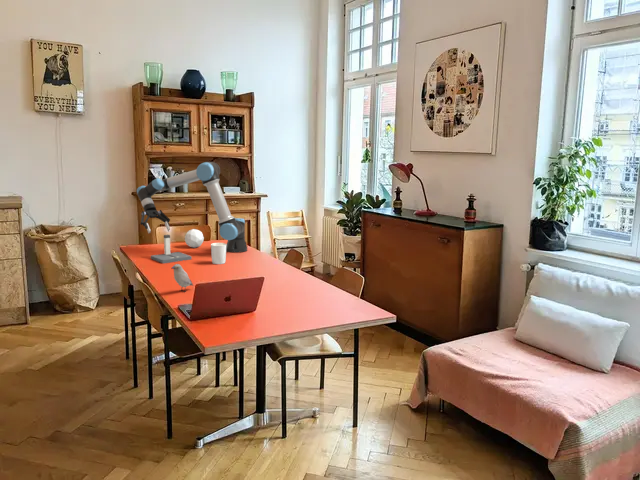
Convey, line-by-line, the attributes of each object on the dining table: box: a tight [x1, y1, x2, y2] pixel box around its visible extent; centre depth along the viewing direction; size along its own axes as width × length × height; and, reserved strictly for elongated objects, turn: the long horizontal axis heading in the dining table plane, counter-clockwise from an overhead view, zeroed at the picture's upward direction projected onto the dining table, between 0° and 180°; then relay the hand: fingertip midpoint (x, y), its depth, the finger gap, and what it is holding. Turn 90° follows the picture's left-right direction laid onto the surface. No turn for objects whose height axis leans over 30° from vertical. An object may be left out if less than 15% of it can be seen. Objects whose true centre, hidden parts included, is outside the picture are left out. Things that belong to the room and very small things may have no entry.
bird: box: [171, 263, 194, 293], centre depth 274 cm, size 5×14×15 cm, turn 142°
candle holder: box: [210, 242, 227, 265], centre depth 339 cm, size 10×10×12 cm
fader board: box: [150, 251, 193, 264], centre depth 346 cm, size 20×17×2 cm
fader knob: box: [163, 234, 171, 255], centre depth 349 cm, size 3×3×13 cm
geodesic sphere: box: [184, 228, 205, 249], centre depth 385 cm, size 14×14×14 cm
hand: (159, 231), depth 354 cm, fingers open, 13 cm apart
